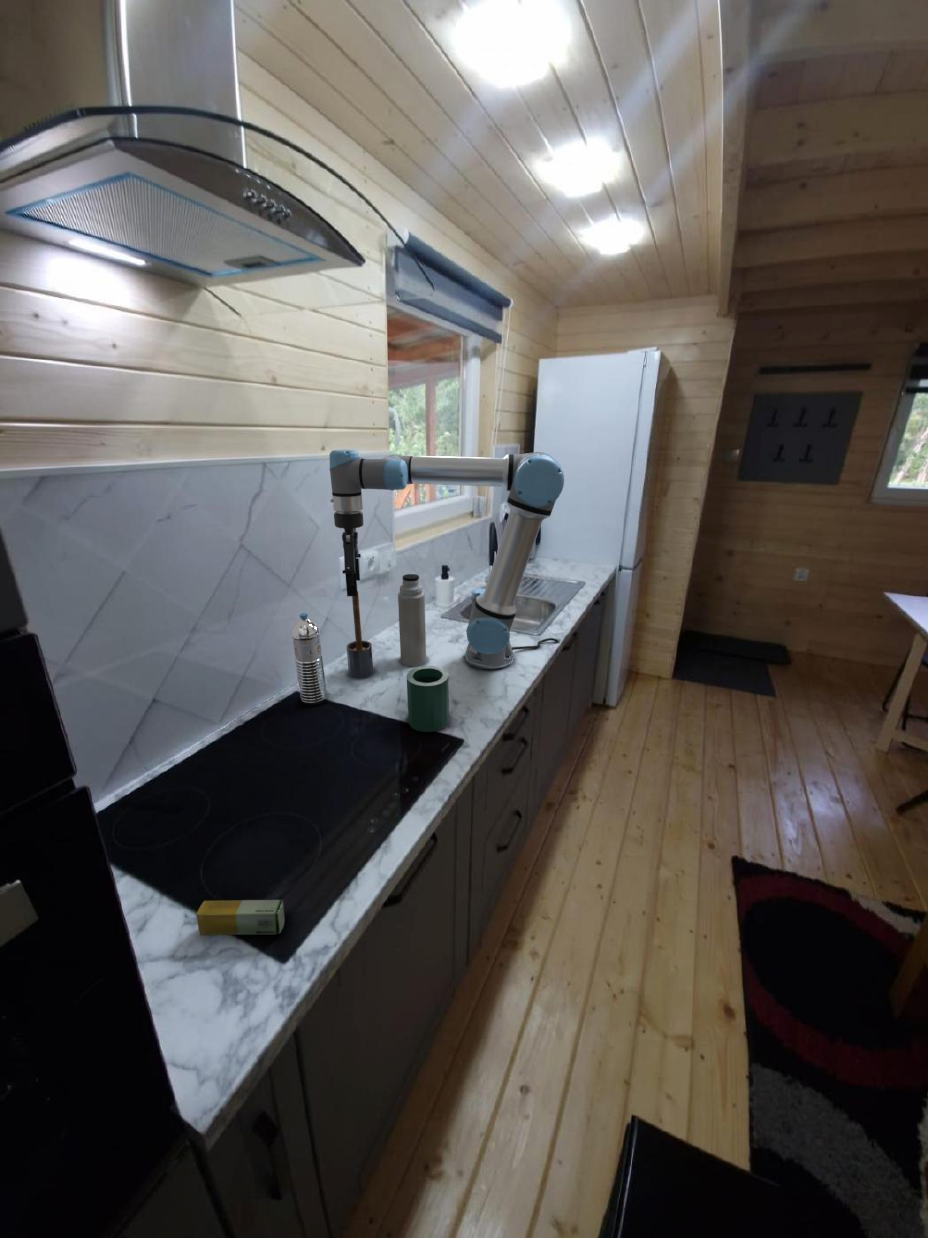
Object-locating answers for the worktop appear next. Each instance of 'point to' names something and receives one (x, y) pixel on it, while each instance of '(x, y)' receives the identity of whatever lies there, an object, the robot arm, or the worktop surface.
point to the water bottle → (309, 661)
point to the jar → (428, 698)
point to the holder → (360, 660)
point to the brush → (357, 623)
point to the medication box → (241, 917)
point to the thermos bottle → (412, 621)
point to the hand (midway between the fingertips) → (353, 587)
